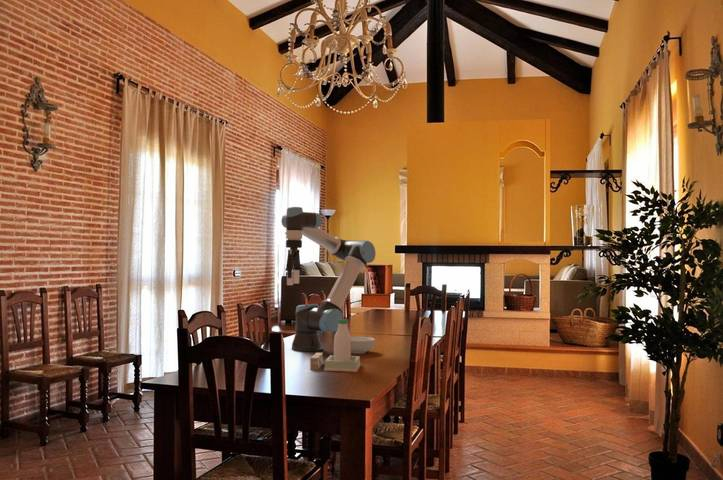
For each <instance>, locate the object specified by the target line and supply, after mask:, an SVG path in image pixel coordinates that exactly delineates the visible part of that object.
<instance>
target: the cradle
mask: <svg viewBox="0 0 723 480" xmlns="http://www.w3.org/2000/svg"><path fill="white" fill-rule="evenodd" d="M360 359H361V358H360V356H359V355H358V356H357V355H351V361H334V354H333V355H331V354H330V355H329V356H328V357H327V358H326V359H325V360H324V368H323V371H327V372H328V371H333V372H334V371H335V372H355V373H357V372H358V370H359V369H360V367H361V361H360Z"/></svg>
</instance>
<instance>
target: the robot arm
mask: <svg viewBox="0 0 723 480" xmlns="http://www.w3.org/2000/svg"><path fill="white" fill-rule="evenodd" d="M322 224H323V217H322V215H321V214H320V213H318V212H315V211H314V212H307V211H303V207H300V206H288V207H287V209H286V213H285V214H283V215H282V217H281V225H282V226H283V228H285V231H286V232H285V233H284V234H285V236H286V237H285V238H286V239H287V240H285V247H286V248H289V249H287V258H286V266H285V267H286V268H285V269H284V271H285V272H286V273H287V274H286V286H293V285H294V284H298V285H299V284H300V271H302V268H301V267H302V266H301V258H300V249H301V248H302V247H303V246H302V245H303V240H302V239H303V236H304V237H306V238H307V239H308V240H310V241H312V242H314V243H316V244H317V245H319V246H321V247H322V248H324V249H326V250H327V252H328V253H329V254H330V255H332V256H334V257H336V258H337V259H339V260H342V261H344V262H345V263H344V266H343V268H342V269H341V271H340V272H339V275H338V276H337V279H336V281H335V283H334V285H333V287H332V288H331V290H330V293H329V294H328V296H327V298H326V299H324V300H322V301H321V302H320V305H319V304H318V303H310V304H299V305H297V306H296V308H295V333H294V337H293V340H292V343H291V350H293V351H296V352H316V351H318V352H319V351H321V350H322V343H321V339H320V336H319V332H324V333H334V332H337V330H338V320H339V319H344V317H343V315H344V314H343V305H344V303H345V301H346V299H347V297H348V296H349V293H350V291H351V290H352V289H353V288H352V287H353V286H354V283H355V282H356V280H357V278H358V276H359V274H360V272H361V270H365V268H366V267H367V264H370V263H373V261H374V260H375V258H376V255H377V254H376V247H375V245H374V244H373V243H372V242H371V241H370V240H364V239H362V240H351V239H350V240H347V239H341V237H338V236H333V235H331V234H329V233H328V232H326V231H325V230H323V229H322V228H320V227H321V226H322Z"/></svg>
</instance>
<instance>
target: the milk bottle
mask: <svg viewBox="0 0 723 480" xmlns="http://www.w3.org/2000/svg"><path fill="white" fill-rule="evenodd" d="M335 332H336V333H335V334H334V338H333V341H334V342H333V355H334V361H351V356H352V353H351V350H352V341H351V337H352V335H351V333H350V329H349V319H345V318H342V319H339V320H338V330H336V331H335Z"/></svg>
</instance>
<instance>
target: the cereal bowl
mask: <svg viewBox="0 0 723 480" xmlns="http://www.w3.org/2000/svg"><path fill="white" fill-rule="evenodd" d="M351 341H352V350H351V354H355V355H358V354H359V355H362V354H367V352H369V351H371V350H372V349H373V348H374V346H375V344H376V343H375V341H376V340H375V338H373V337H367V336H351Z"/></svg>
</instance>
